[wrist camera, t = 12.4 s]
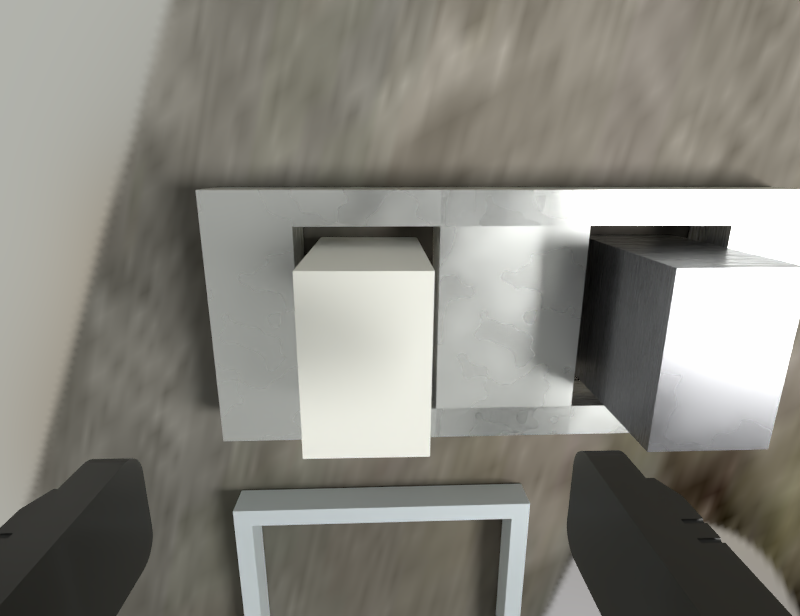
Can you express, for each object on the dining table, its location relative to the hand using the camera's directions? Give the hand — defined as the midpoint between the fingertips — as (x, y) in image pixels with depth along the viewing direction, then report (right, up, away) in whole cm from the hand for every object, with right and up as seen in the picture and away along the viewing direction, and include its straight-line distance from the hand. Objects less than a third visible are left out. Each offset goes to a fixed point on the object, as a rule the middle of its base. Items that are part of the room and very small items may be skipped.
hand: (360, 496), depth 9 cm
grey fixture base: (+5, +4, +12) cm, 14 cm away
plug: (-1, +4, +12) cm, 13 cm away
